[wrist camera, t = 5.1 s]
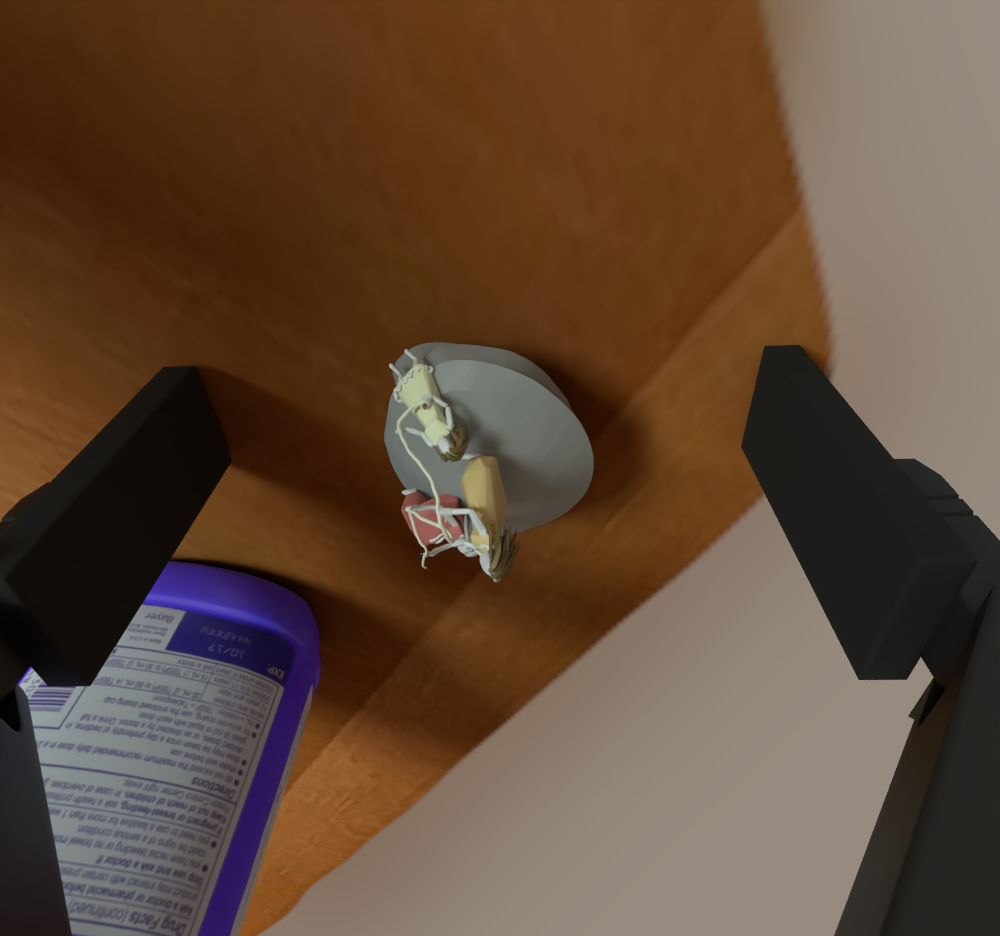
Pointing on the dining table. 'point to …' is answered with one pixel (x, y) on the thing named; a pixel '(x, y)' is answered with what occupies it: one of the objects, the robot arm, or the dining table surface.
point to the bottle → (177, 754)
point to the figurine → (482, 449)
